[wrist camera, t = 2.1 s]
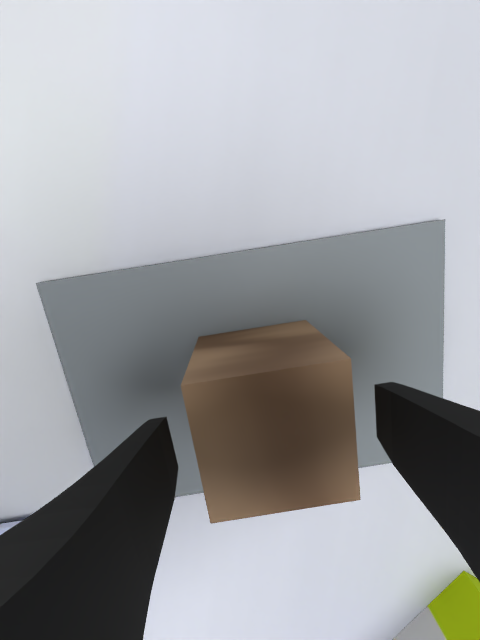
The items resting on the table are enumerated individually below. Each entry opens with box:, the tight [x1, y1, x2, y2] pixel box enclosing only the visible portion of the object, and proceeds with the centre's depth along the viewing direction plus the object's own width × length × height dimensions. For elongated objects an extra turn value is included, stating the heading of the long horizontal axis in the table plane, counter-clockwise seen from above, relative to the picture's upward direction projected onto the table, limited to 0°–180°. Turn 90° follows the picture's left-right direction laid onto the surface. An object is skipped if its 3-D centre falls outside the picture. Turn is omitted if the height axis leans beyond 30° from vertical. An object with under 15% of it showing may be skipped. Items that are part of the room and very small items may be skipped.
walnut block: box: [181, 320, 360, 523], centre depth 11 cm, size 5×5×5 cm
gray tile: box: [36, 219, 445, 497], centre depth 14 cm, size 18×12×1 cm, turn 99°
